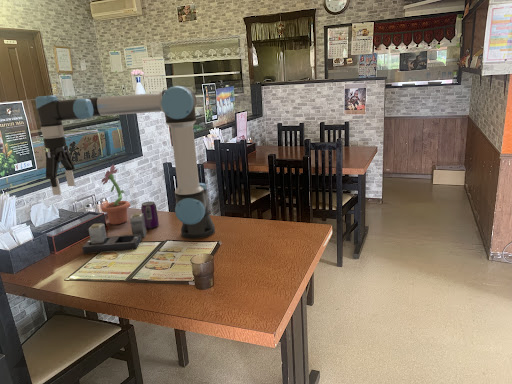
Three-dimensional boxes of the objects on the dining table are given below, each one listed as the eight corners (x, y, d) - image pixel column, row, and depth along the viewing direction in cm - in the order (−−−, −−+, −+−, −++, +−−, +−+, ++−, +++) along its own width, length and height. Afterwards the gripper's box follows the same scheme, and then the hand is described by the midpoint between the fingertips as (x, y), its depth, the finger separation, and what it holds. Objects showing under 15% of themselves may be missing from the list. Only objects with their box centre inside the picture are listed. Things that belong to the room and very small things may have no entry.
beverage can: (162, 225, 192) (158, 201, 189) (151, 230, 186) (147, 206, 183) (151, 223, 196) (148, 200, 192) (141, 228, 190) (137, 204, 187)
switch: (141, 240, 174) (138, 217, 172) (136, 249, 165) (132, 225, 162) (91, 244, 174) (87, 221, 171) (83, 253, 164) (78, 230, 161)
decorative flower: (113, 217, 210) (103, 162, 202) (137, 216, 208) (128, 161, 200) (99, 227, 195) (88, 168, 187) (125, 226, 194) (116, 167, 186)
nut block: (146, 233, 182) (143, 211, 179) (144, 237, 177) (140, 215, 174) (135, 234, 182) (132, 212, 179) (133, 238, 177) (129, 216, 174)
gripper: (58, 133, 162) (68, 183, 168) (27, 142, 138) (40, 199, 144) (76, 132, 163) (85, 181, 168) (48, 140, 139) (60, 198, 144)
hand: (64, 190), depth 156 cm, fingers open, 13 cm apart
